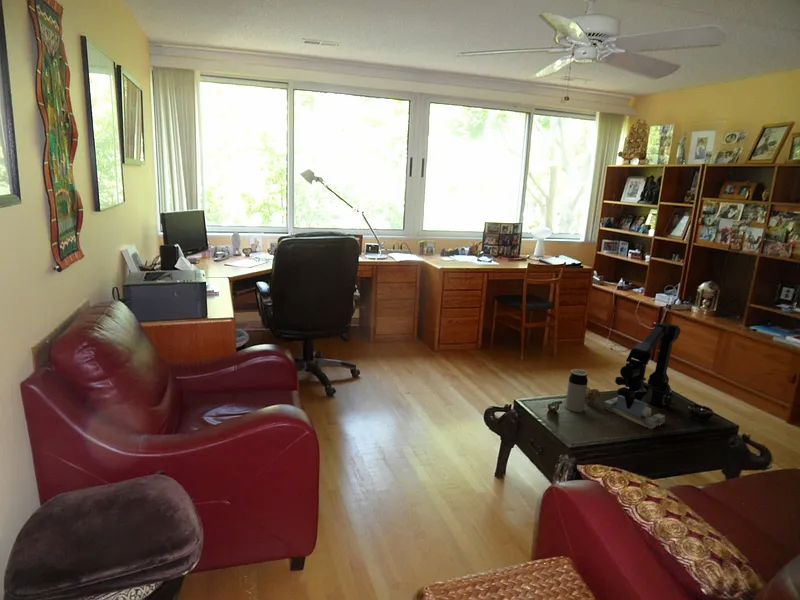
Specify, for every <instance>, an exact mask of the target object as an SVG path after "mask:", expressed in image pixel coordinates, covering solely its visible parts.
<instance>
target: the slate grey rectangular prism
mask: <svg viewBox="0 0 800 600" xmlns="http://www.w3.org/2000/svg"><path fill="white" fill-rule="evenodd" d="M617 397H618V398H617V403H616V408H617V409H619V410H622V411H624V412H627V413H629V414H632V415H634V416H636V417H639V418H643V417H647V418H648V417H649V416H650V415H652V408H651V407H649V403H648V402H645V401H642V400H641V401H639V400H637V399H635V400H634V402H633V404H632V406H631V408H630V409H627V406H626V401H625V397H624V396H621V395H619V394H617Z"/></svg>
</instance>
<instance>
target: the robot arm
mask: <svg viewBox="0 0 800 600" xmlns="http://www.w3.org/2000/svg"><path fill="white" fill-rule="evenodd" d="M680 334H681V328H680V327H679V325H677V324H672V323H669V322H668V323H667V322H663V323H656V324H655V325H654V328H653V329H652V330H651V332H650V333H649V334H647V337H645V338H644V340H643V341H642V342H640V343H639V342H638V343H637V344H635V346H633V348H632V349H631V350H630V352H629V353H628V355H627V358H626V359H625V361H626V363H625V365H624V366H622V367H621V368H620V370H619V371H620V372H619V373H620V375H621V376H616V377H615V380H614V383H615V384H616V385H617V386H624V387H620V388H618V389H617V391H616V394H617V395H621V396H624V397H625V401H626V406H627V409H630V408H631V406H632V404H633V402H634V400H635V399H637V400H639V401H642V400H643V399H644V398H645V396H646V395H648V392H649V393H650V392H651V395H650V399H649V400H646V403H647V404H651V405H653V406H656V407H659V408H661V407H663V406H666V405H667V402H665V397H666V396H669V395H670V393H671V392H672V391H671V390H672V388H671V386H670V384H669V382H670V377H669V376H668V374H667V373H668V366H669V362H670V357H671V353H672V348H673V344H674V343H675V342H676V341H677V340H678V339H679V336H680ZM659 342H660V347H659V351H658V356H657V360H656V364H655V370H654V372H652V373H651V374H649V378H648V380H647V378H646V377H645V376H646V370H647V366H648V365H649V361H650V360H651V358H652V356H653V349H655V347H656V346H657V344H658V343H659ZM645 381H647V382H645Z"/></svg>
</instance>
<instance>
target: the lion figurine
mask: <svg viewBox="0 0 800 600" xmlns="http://www.w3.org/2000/svg"><path fill="white" fill-rule="evenodd" d="M602 396H603V394H602V393H600V389H598V388H592V389H591V387H589V386H587V389H586V396H585V399H586V406H587V407H589V406H590V404H591V406H592V405H594V406H595V404H594V402H595V401H596V400H598V399H600V398H601V397H602ZM590 401H591V403H590Z"/></svg>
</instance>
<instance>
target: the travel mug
mask: <svg viewBox="0 0 800 600" xmlns="http://www.w3.org/2000/svg"><path fill="white" fill-rule="evenodd" d="M588 375H589V373H588V371H586V370H584V369H580V368H573V369H571V370H570V375H569V377H568V385H567V392H566V398H565V399H566V400H565V408H566V409H567V410H568V411H570V412H574V413H580V412H581V413H582V412H583V411H584V410H585V403H586V398H585V396H586V389H587V387H588V382H589V380H588Z"/></svg>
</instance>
